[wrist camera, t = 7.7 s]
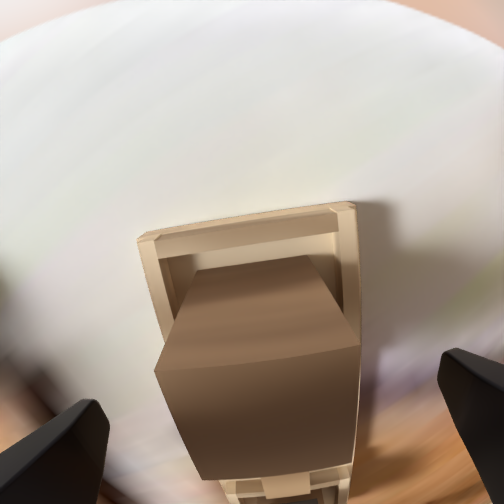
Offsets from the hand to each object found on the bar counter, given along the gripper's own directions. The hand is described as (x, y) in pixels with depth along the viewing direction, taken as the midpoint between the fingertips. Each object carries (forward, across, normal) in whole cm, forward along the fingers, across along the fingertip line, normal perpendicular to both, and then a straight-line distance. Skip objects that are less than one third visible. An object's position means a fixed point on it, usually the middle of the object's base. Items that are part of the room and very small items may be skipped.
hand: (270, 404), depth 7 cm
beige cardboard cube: (+5, 0, 0) cm, 5 cm away
